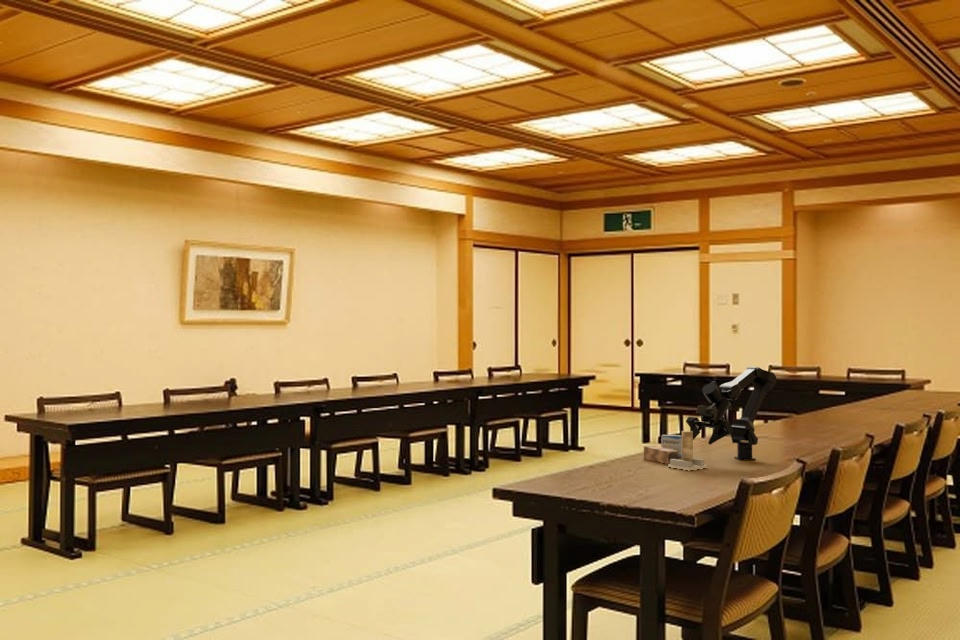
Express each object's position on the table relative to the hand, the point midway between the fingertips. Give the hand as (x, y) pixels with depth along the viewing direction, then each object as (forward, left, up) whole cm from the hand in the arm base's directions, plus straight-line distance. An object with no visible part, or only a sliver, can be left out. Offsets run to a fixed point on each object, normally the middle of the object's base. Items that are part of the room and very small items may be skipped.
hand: (699, 442), depth 340 cm
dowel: (+3, -6, -8) cm, 10 cm away
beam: (-14, -10, -9) cm, 19 cm away
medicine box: (-26, -1, -9) cm, 27 cm away
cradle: (+3, -6, -9) cm, 11 cm away
